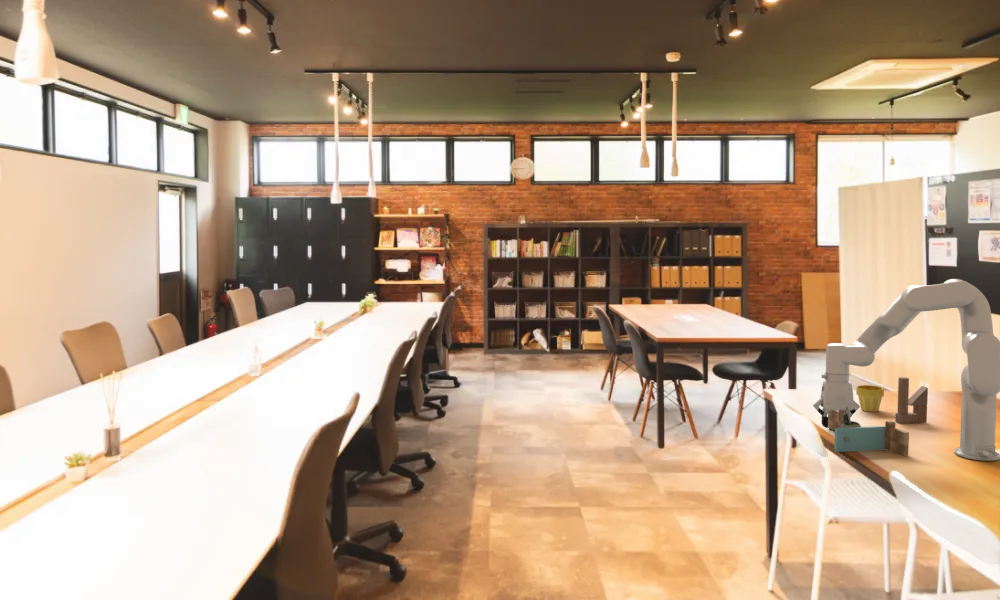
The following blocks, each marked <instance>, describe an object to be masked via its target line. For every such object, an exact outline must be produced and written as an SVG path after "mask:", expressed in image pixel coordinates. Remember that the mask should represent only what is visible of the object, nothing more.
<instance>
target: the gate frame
mask: <svg viewBox="0 0 1000 600" xmlns="http://www.w3.org/2000/svg"><path fill="white" fill-rule="evenodd" d="M844 415H845V412H844V410H829V412H828V414H827V417H828V427H827V429H828V428H829V429H832V430H835V428H840V427H841V425H842V423H843V420H844ZM884 424H885V425H884V426H885V449H884V450H885V451H888V452H892V453H895V454H898V455H900V456H904V457H908V456H909V446H910V445H909V443H910V441H909V440H910V435H909V434H910V432H909V431H906V430H903V429H900V428H896V421H895V420H894V421H893V420H885V423H884ZM829 429H828V430H829ZM832 430H831V431H832Z"/></svg>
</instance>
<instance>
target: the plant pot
mask: <svg viewBox="0 0 1000 600" xmlns="http://www.w3.org/2000/svg"><path fill="white" fill-rule="evenodd" d="M855 390H856V391H855V392H856V393H855V394H856V396H858V401H859V406H860V410H861V411H863V410H864V412H872V413H873V412H879V410H880V406H881V403H882V399H883V397H884V396H885V389H884V387H882V386H878V385H872V384H871V385H870V384H863V385H857V386H856V389H855Z"/></svg>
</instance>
